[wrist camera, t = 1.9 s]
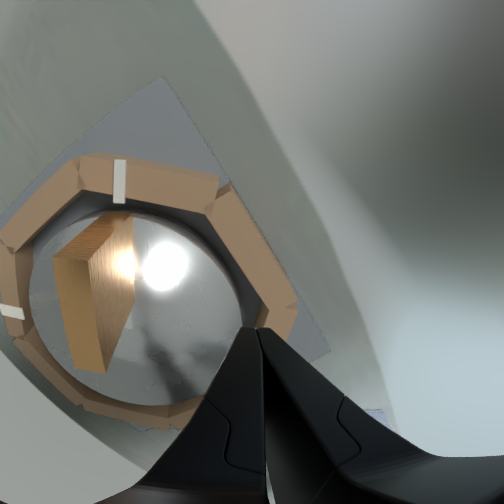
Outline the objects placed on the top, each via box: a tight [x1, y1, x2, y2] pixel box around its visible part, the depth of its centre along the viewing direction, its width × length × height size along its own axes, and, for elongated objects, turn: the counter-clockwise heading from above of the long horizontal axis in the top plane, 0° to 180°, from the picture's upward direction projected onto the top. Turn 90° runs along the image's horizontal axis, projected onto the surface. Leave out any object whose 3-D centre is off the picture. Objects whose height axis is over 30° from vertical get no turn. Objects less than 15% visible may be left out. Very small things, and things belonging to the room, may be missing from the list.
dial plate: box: [0, 76, 331, 432], centre depth 16 cm, size 18×16×3 cm
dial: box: [29, 207, 242, 405], centre depth 13 cm, size 12×12×7 cm
